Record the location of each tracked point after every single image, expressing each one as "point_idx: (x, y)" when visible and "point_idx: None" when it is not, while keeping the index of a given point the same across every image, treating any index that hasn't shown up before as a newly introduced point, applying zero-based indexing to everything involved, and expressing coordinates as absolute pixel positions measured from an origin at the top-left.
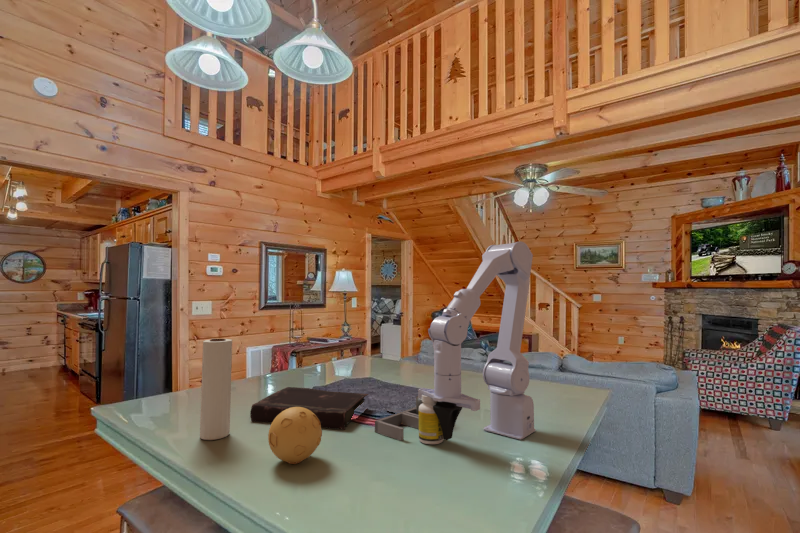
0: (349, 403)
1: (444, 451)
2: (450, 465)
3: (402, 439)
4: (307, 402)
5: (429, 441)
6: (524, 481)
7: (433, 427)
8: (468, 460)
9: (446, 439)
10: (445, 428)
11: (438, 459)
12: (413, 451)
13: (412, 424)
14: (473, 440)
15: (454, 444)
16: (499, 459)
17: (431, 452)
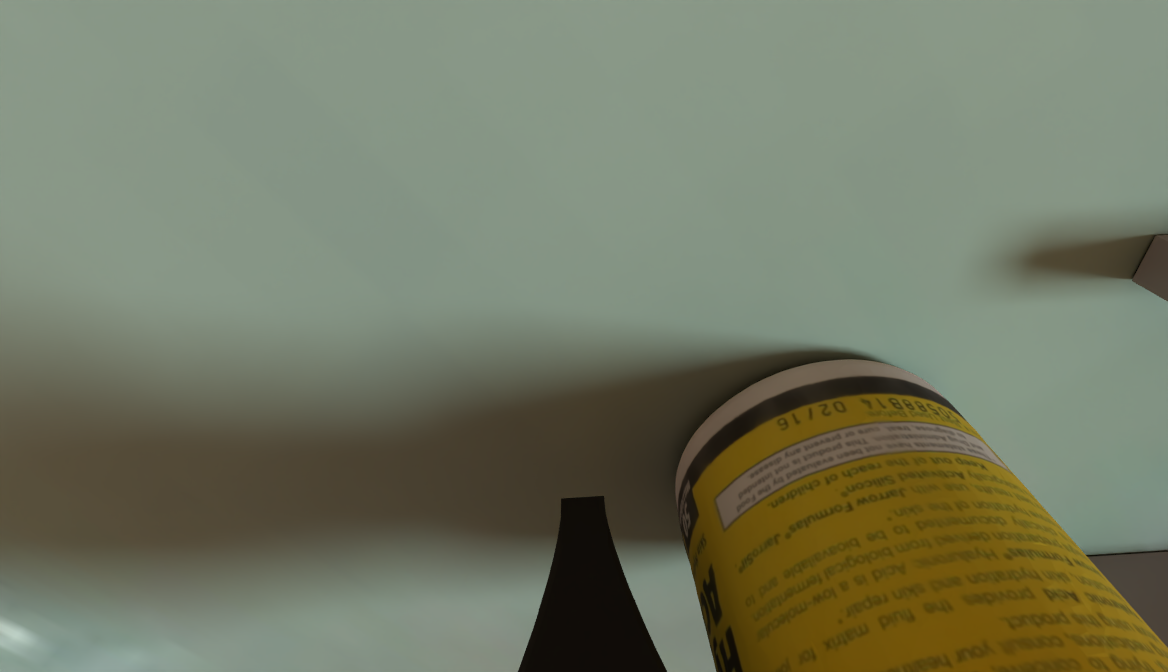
0: None
1: (514, 363)
2: (113, 96)
3: (1151, 264)
4: None
5: (766, 398)
6: None
7: (779, 579)
8: (155, 364)
9: (561, 507)
10: (550, 633)
11: (378, 133)
12: (829, 84)
13: (1163, 577)
14: (506, 652)
15: None
16: (47, 548)
17: (607, 240)
